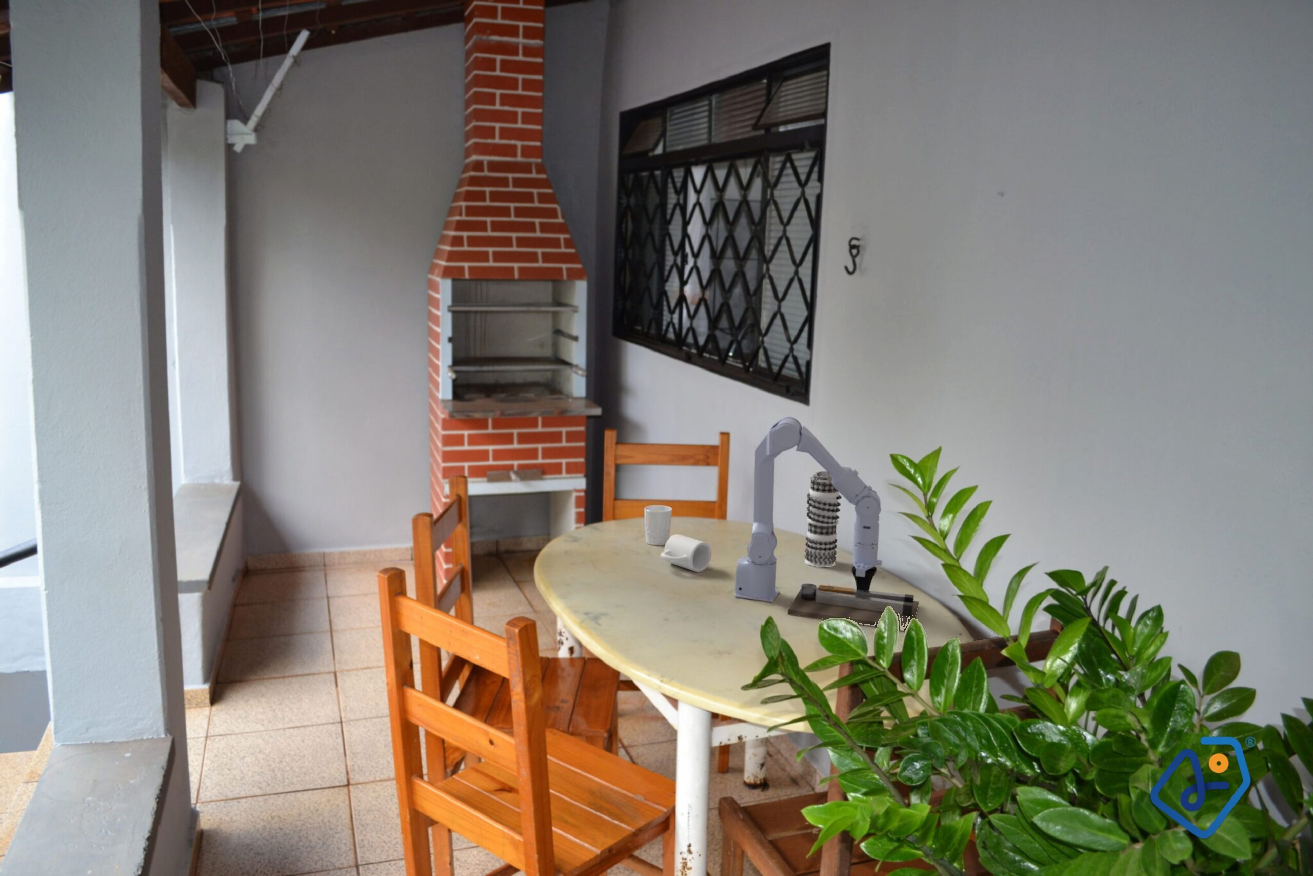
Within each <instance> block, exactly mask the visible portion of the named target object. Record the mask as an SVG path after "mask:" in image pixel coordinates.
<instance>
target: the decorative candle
mask: <svg viewBox="0 0 1313 876" xmlns="http://www.w3.org/2000/svg"><path fill="white" fill-rule="evenodd" d="M812 475H813V476H811V477H810V478H809V479H810V488H809V492H808V493H807V494H806V497H807V499H806V504H807V506H806V511H807V512H806V517H807V518H806V521H807V523H808V524H807V525H808V526H807V532H806V536H805V541H806V542H805V544H804V545H805V549H804V553H805V554H804V561H805V562H804V564H805V563H806V564H805V565H807V564H809V565H812V566H818V567H826V566H832V565H833V564H834V562H836V561H837V553H838V552H837V550H836V549H837V547H838V545H837V543H838V539H837V535H838V534H837V529H838V528H837V525H838V524H839V519H840V516H839V515H838V513H839V512H841V509H840V508H839V507H840V506H841V502H840V501H838V500H840V499H842V497H843V496H842V495H840V492H839V491H838V490H837V489H836V488H835V487H834V486H833V485H832V476H831V475H830V474H829V473H828V472H827V471H826V470H825V471H823V470H822V471H817V472H815V473H814V474H812ZM809 565H808V566H809ZM812 566H811V567H812Z"/></svg>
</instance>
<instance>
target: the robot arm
mask: <svg viewBox="0 0 1313 876" xmlns="http://www.w3.org/2000/svg"><path fill="white" fill-rule="evenodd" d="M795 447H796V448H795ZM793 448H795V451H796V452H800V453H807V454H809V456H811V457H812V458H813V459H814V460H815V461H816V462H817V463H818V464H819V465H820V466H821V467H822V468H823V469H824V470H825V472H828V473H829V474H830V475H831V476H832V485H833V486H834V487H835V488H836V489H837V490H838V491H839V494H841V496H842V497H844V499H846V501H847V502H848V503H849V504H850V505H854V511H855V514H856V515H855V521H854V524H853V525H854V526H853V527H854V528H853V546H852V557H851V564H852V567H851V573H852V576H853V578H854V580H855V581H854V582H855V585H856V586H855V587H856V589H857V590H866V591H870V588H871V585H872V580H873V578H874V576H875V575H876V572H877V571H878V567H877V566H882V564H883V561H882V560H880V559H878V549H879V537H880V536H879V535H880V514H881V512H882V507H881V505H882V504H881V498H880V496H879V495H878V493H877V491H875V490H873V488H872V486H871V485H867V484H866V483H865V481H863V480H862V478H860V477H859V472H858V470H856V469H855V468H854V469H852V468H851V467H849V466H842V465H841V464H840V463H839V462H838V460H837V459H836V458H835V457H834V456H833V455H832V454H831V452H830V451H828V450H827V448H826V447H825V446H824V445H823V443H821V442H820V440H819V439H818V438H817V437H816V436H815V435H814V434H813V433H812V431H811V430H810V429H808V428H807V427H806V426H805V425H803V426H802V423H801V422H800V421H799V420H798V419H797V418H795V417H792V416H786V417H783V418H781V419H780V420H778V421H777V422H775V423H774V424H773V425H772V426H771V428H769V430H768V431H767V433H766V434H765V435H764V437H763V439H761V440H760V442H759V444H758V445H757V447H756V448H755V450H754V467H753V468H754V470H753V471H754V472H753V473H754V474H753V475H754V476H753V516H752V517H753V520H752V521H753V522H752V528H751V538H750V541H749V544H748V546H747V547H746V548H747V549H746V551H747V557H739V559H738V560H737V565H736V571H735V590H734V597H736V598H742V599H747V600H748V599H749V600H756V601H763V602H769V603H770V602H771V603H773V602H774V601H775V599H776V598H777V596H778V595H779V594H780V590H779V589H776V580H777V579H776V578H777V562H778V561H777V560H778V558H777V557H776V556H775V549H776V548H777V545H778V538H777V536H776V534H775V532H774V530H775V529H774V484H775V483H774V482H775V459H776V458H777V457H778V456H779V455H781V454H782V453H783V452H786V451H789V450H791V449H793Z"/></svg>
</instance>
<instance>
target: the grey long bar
mask: <svg viewBox="0 0 1313 876" xmlns="http://www.w3.org/2000/svg"><path fill="white" fill-rule="evenodd" d="M816 603H823V604H830V605H837V606H844V607H851V608H858V609H865V610H872V611H879V612H884V610H885V608H886V607H887V606H891V607H892V608H893V610H894V611H895V613H896V614H898V613H899V614H900V615H906V616H912V608H913V603H909V602H901V601H894V600H886V599H879V598H872V597H864V596H857V595H850V594H843V593H835V592H828V591H821V590H818V591H817V592H816Z"/></svg>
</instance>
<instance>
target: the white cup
mask: <svg viewBox="0 0 1313 876" xmlns="http://www.w3.org/2000/svg"><path fill="white" fill-rule="evenodd" d="M672 512H673V508H672V507H670V506H668V505H663V504H662V505H661V504H656V505H655V504H653V505H652V504H651V505H647V506H645V507H644V533H645V543H646V544H648V545H651V546H652V545H653V546H665V544H666V542H667V540H668V539H669V538H670V533H671V525H672V514H673V513H672Z"/></svg>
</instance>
